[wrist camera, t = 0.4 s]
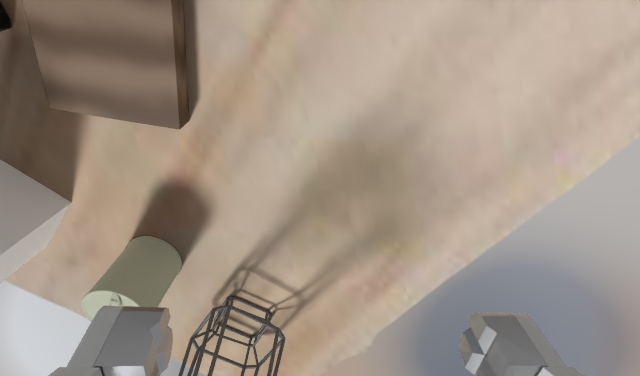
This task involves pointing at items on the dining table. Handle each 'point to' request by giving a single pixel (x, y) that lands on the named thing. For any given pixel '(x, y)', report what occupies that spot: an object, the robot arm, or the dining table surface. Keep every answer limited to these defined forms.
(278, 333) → the geometric lantern
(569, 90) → the dining table surface
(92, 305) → the can
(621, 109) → the dining table surface
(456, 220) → the dining table surface
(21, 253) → the milk
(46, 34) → the walnut plinth
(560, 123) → the dining table surface
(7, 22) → the portable radio
